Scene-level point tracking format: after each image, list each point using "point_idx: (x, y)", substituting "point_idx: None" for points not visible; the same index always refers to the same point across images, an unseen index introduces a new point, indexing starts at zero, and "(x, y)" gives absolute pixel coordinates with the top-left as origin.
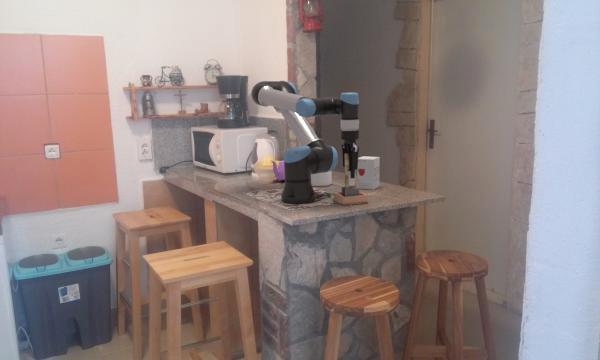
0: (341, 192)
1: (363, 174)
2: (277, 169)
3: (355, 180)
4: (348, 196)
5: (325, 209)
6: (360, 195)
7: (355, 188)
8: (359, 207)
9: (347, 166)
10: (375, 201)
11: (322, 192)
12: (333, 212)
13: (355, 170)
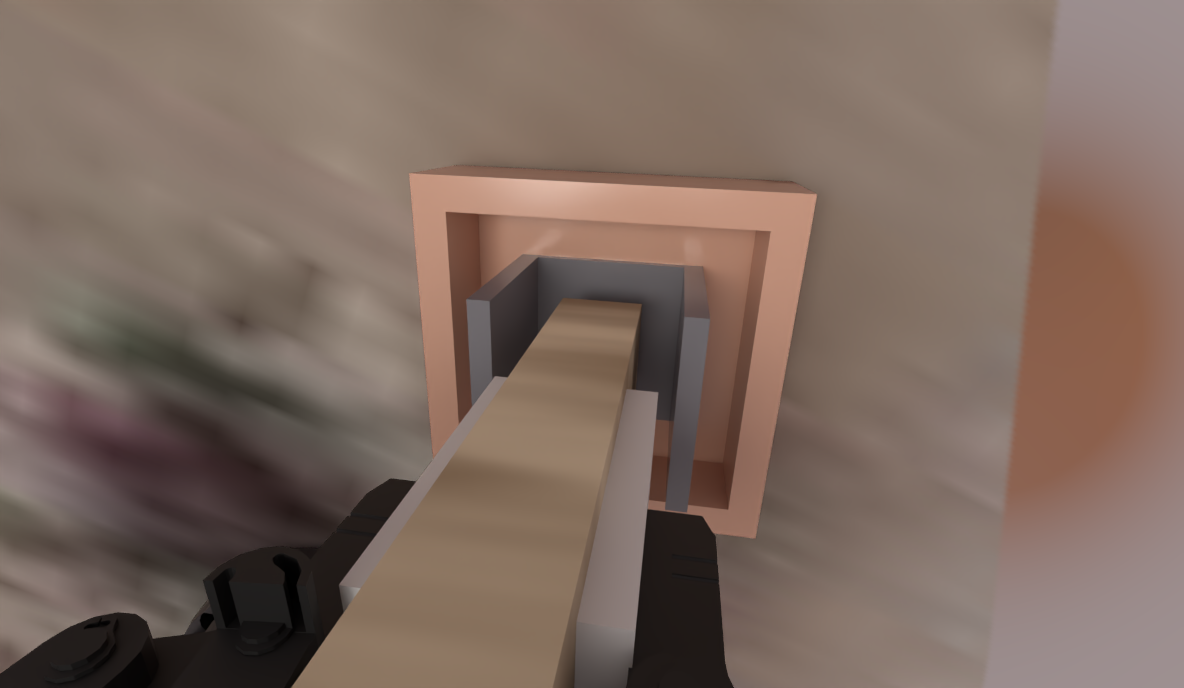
0: (458, 417)
1: None
2: None
3: (616, 409)
4: (741, 468)
5: (790, 659)
6: (777, 306)
7: (631, 344)
8: (927, 377)
9: None
10: (752, 13)
11: (76, 371)
12: (941, 662)
13: (580, 576)
